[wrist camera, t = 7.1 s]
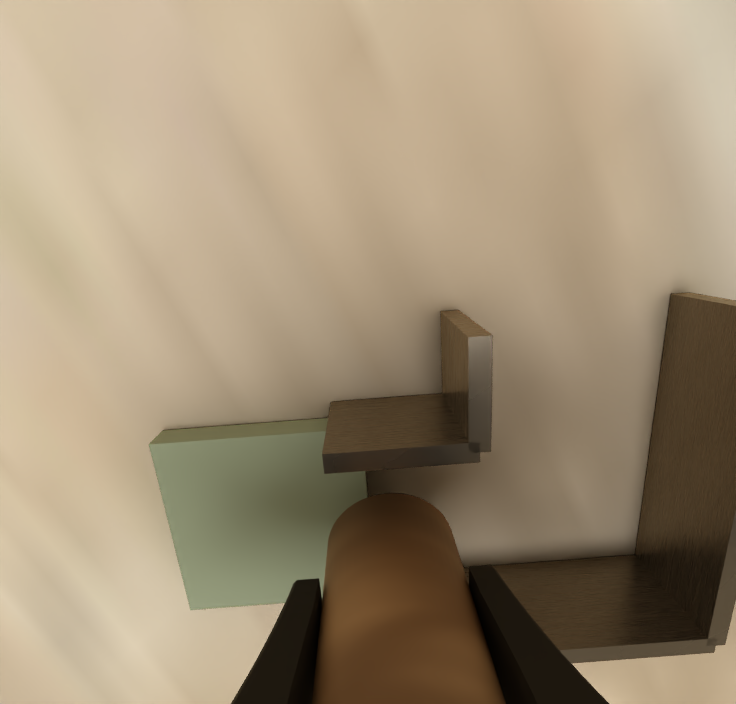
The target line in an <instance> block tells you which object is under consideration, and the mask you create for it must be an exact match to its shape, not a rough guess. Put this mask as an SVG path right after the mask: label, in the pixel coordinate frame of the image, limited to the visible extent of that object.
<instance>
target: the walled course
mask: <svg viewBox="0 0 736 704" xmlns="http://www.w3.org/2000/svg"><path fill="white" fill-rule="evenodd" d="M441 354H442V393H441V394H428V395H415V396H402V397H389V398H375V399H362V400H349V401H336V402H331V404H330V410H329V416H328V422H327V428H326V433H325V439H324V445H323V451H322V459H323V468H324V474H332V473H345V472H358V471H372V470H385V469H398V468H411V467H424V466H438V465H451V464H464V463H477V462H480V452H491V424H492V354H493V335H492V334H490V333H489V332H488V331H486V330H485V329H483V328H482V327H481V326H479V325H478V324H477V323H475V322H474V321H473V320H471V319H470V318H469V317H467V316H466V315H465V314H463V313H462V312H461V311H459V310H453V311H441ZM493 567H494V568H495V569H496V570H497V572H498V573H499V575H500V576H501V577H502V579H503V580H504V582H505V583H506V584H507V586H508V587H509V589H510V590H511V591H512V593H513V594H514V595H515V597H516V598H517V599H518V600H519V602H520V603H521V604H522V606H523V607H524V608H525V609H526V611H527V612H528V613H529V615H530V616H531V617H532V618H533V620H534V621H535V622H536V623H537V624H538V626H539V627H540V628H541V629H542V630H543V632H544V633H545V634H546V635H547V636H548V638H549V639H550V640H551V641H552V642H553V643H554V645H555V646H556V647H557V648H558V649H559V650H560V652H561V653H562V654H563V655H564V656H565V657H566V658H567V659H568V661H569V662H570V663H582V662H595V661H608V660H622V659H635V658H648V657H661V656H674V655H688V654H701V653H714V651H715V646H716V645H725V643H726V639H727V634H728V630H729V626H730V621H731V617H732V613H733V609H734V604H735V600H736V300H730V299H724V298H718V297H712V296H707V295H701V294H695V293H677V294H671V299H670V306H669V313H668V321H667V328H666V335H665V342H664V350H663V357H662V364H661V371H660V378H659V386H658V393H657V400H656V407H655V415H654V422H653V429H652V436H651V444H650V451H649V458H648V465H647V473H646V480H645V487H644V494H643V502H642V509H641V516H640V523H639V531H638V538H637V545H636V552H635V555H628V556H614V557H601V558H588V559H575V560H562V561H548V562H535V563H522V564H509V565H496V566H493ZM463 569H464V572H465V575H466V578H467V581H468V584H469V568H463Z"/></svg>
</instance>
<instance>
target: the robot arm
mask: <svg viewBox="0 0 736 704" xmlns="http://www.w3.org/2000/svg"><path fill="white" fill-rule="evenodd" d="M469 588H470V591H471V594H472V597H473V600H474V603H475V607H476V610H477V613H478V616H479V619H480V622H481V626H482V629H483V632H484V635H485V638H486V641H487V645H488V648H489V651H490V654H491V657H492V660H493V664H494V667H495V670H496V673H497V676H498V679H499V683H500V686H501V689H502V692H503V695H504V698H505V702H506V704H609V703H608V702H607V701H606V700H605V699H604V698H603V697H602V696H601V695H600V694H599V693H598V692H597V691H596V690H595V689H594V688H593V686H592V685H591V684H590V683H589V682H588V681H587V680H586V679H585V678H584V677H583V676H582V675H581V674H580V673H579V671H578V670H577V669H576V668H575V667H574V666H573V665H572V664H571V663H570V662H569V661H568V659H567V658H566V657H565V656H564V655H563V654H562V653H561V652H560V650H559V649H558V648H557V647H556V646H555V645H554V643H553V642H552V641H551V640H550V639H549V638H548V636H547V635H546V634H545V633H544V632H543V630H542V629H541V628H540V627H539V626H538V624H537V623H536V622H535V621H534V620H533V618H532V617H531V616H530V615H529V613H528V612H527V611H526V609H525V608H524V607H523V606H522V604H521V603H520V602H519V600H518V599H517V598H516V597H515V595H514V594H513V593H512V591H511V590H510V589H509V587H508V586H507V584H506V583H505V582H504V580H503V579H502V577H501V576H500V575H499V573H498V572H497V570H496V569H495V568H494V567H493V566H492V565H485V566H472V567H469ZM321 607H322V596H321V588H320V580H319V578H316V579H303V580H296V581H295V582H294V583H293V586H292V588H291V591H290V593H289V595H288V598H287V600H286V602H285V604H284V607H283V609H282V611H281V613H280V615H279V617H278V619H277V621H276V623H275V625H274V628H273V630H272V632H271V633H270V635H269V637H268V639H267V641H266V643H265V645H264V647H263V649H262V651H261V652H260V654H259V656H258V658H257V660H256V662H255V664H254V665H253V667H252V669H251V671H250V672H249V674H248V676H247V677H246V679H245V681H244V683H243V684H242V686H241V688H240V689H239V691H238V693H237V694H236V696H235V698H234V700H233V701H232V703H231V704H312V697H313V687H314V677H315V667H316V657H317V647H318V637H319V627H320V617H321Z"/></svg>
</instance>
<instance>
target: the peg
mask: <svg viewBox="0 0 736 704" xmlns="http://www.w3.org/2000/svg"><path fill="white" fill-rule="evenodd" d="M312 704H506V702H505V698H504V695H503V692H502V689H501V686H500V683H499V679H498V676H497V673H496V670H495V667H494V664H493V660H492V657H491V654H490V651H489V648H488V645H487V641H486V638H485V635H484V632H483V629H482V626H481V622H480V619H479V616H478V613H477V610H476V607H475V603H474V600H473V597H472V594H471V591H470V588H469V584H468V581H467V578H466V575H465V572H464V569H463V565H462V562H461V559H460V556H459V553H458V550H457V546H456V543H455V540H454V537H453V534H452V531H451V528H450V526H449V523H448V522H447V520H446V518H445V517H444V516H443V514H442V513H441V512H440V511H439V510H438V509H437V508H435V507H434V506H433V505H431V504H430V503H428V502H427V501H425V500H423V499H420V498H418V497H415V496H412V495H407V494H400V493H385V494H378V495H374V496H370V497H367V498H365V499H362V500H360V501H358V502H356V503H355V504H353V505H352V506H350V507H349V508H347V509H346V510H345V511H344V512H343V513H342V514H341V515H340V516H339V518H338V519H337V520H336V522H335V523H334V525H333V527H332V529H331V531H330V535H329V538H328V547H327V557H326V567H325V577H324V587H323V597H322V607H321V617H320V627H319V637H318V647H317V657H316V667H315V677H314V687H313V697H312Z"/></svg>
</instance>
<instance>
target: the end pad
mask: <svg viewBox="0 0 736 704" xmlns="http://www.w3.org/2000/svg"><path fill="white" fill-rule="evenodd" d="M327 422H328V418H320V419H307V420H294V421H281V422H268V423H254V424H241V425H228V426H215V427H202V428H188V429H175V430H163V431H162V432H161V433H160V434H159V435H158V436H157V437H156V438H155V439H154V440H153V441H152V442H151V443H150V444H149V447H150V451H151V455H152V459H153V463H154V467H155V471H156V475H157V479H158V483H159V487H160V491H161V495H162V499H163V503H164V507H165V511H166V515H167V519H168V523H169V527H170V531H171V535H172V539H173V543H174V547H175V551H176V554H177V558H178V562H179V566H180V570H181V574H182V578H183V582H184V586H185V590H186V594H187V598H188V602H189V606H190V610H199V609H212V608H225V607H239V606H252V605H265V604H278V603H285V602H286V600H287V598H288V595H289V593H290V591H291V588H292V586H293V583H294V582H295V581H296V580H303V579H316V578H319V580H320V588H321V596H322V597H323V587H324V577H325V567H326V557H327V547H328V538H329V535H330V531H331V529H332V527H333V525H334V523H335V522H336V520H337V519H338V518H339V516H340V515H341V514H342V513H343V512H344V511H345V510H346V509H347V508H349V507H350V506H352V505H353V504H355V503H356V502H358V501H360V500H362V499H365V498H367V497H368V494H367V482H366V471H358V472H345V473H332V474H324V468H323V459H322V451H323V445H324V439H325V433H326V428H327Z"/></svg>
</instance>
